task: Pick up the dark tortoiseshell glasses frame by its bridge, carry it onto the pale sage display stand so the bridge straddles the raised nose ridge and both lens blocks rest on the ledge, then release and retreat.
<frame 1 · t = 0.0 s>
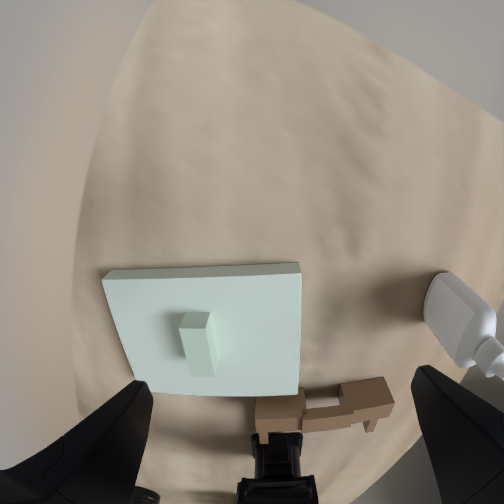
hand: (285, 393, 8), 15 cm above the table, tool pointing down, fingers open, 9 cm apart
supplement bottle: (146, 491, 44), on the table
eye dropper bottle: (436, 296, 23), on the table
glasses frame: (321, 393, 28), on the table
display stand: (206, 324, 25), on the table
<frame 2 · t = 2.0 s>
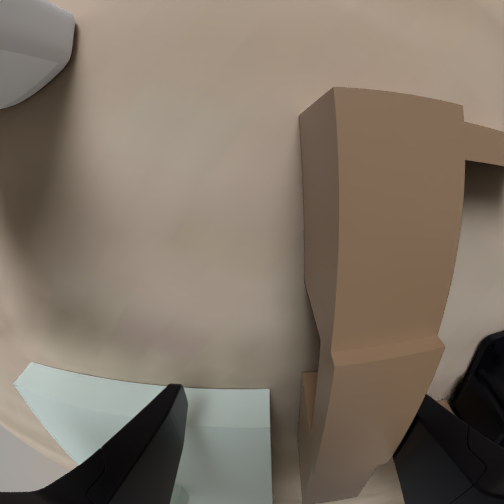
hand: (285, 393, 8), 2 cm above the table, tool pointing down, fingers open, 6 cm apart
eye dropper bottle: (29, 64, 6), on the table
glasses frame: (336, 330, 10), on the table, touching gripper
display stand: (153, 460, 14), on the table
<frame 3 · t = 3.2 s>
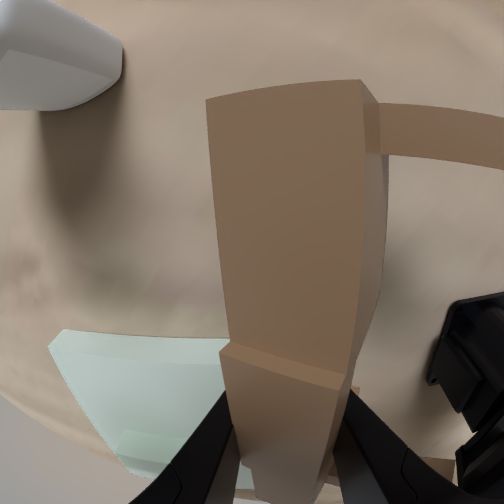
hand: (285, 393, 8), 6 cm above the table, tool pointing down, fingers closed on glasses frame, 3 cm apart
eye dropper bottle: (79, 76, 10), on the table
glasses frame: (335, 340, 9), point 4 cm above the table, tilted 29°, touching gripper
display stand: (168, 421, 17), on the table
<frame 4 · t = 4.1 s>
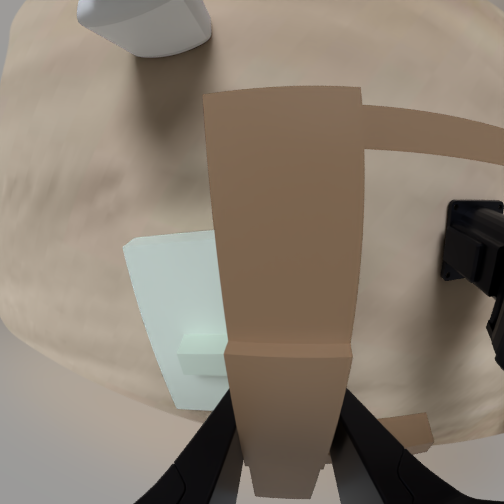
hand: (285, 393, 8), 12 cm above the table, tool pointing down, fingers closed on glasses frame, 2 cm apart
eye dropper bottle: (172, 36, 15), on the table
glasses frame: (294, 326, 10), point 10 cm above the table, tilted 7°, touching gripper
display stand: (223, 329, 22), on the table
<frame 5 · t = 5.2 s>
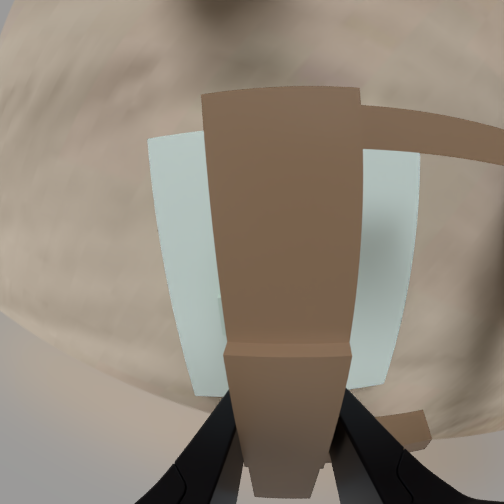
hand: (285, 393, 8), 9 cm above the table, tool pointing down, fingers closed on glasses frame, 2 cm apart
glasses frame: (291, 326, 10), point 6 cm above the table, tilted 6°, touching gripper
display stand: (273, 275, 16), on the table
when the fingers open (6 cm above the table, at t = 5.9 s): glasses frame drops 1 cm, resting on display stand.
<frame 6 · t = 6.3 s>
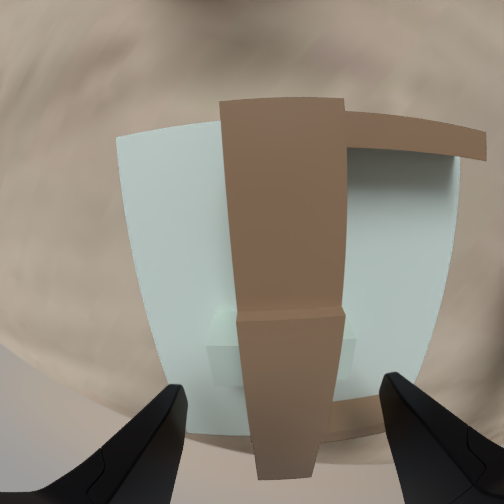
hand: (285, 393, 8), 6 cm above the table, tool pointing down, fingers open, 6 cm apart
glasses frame: (281, 309, 11), point 2 cm above the table, touching display stand
display stand: (277, 304, 13), on the table
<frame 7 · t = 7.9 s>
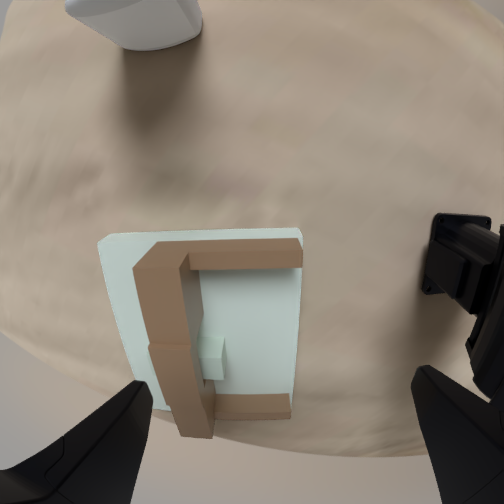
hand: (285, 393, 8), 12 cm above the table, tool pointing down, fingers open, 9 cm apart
eye dropper bottle: (162, 30, 14), on the table
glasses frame: (190, 336, 19), point 2 cm above the table, touching display stand
display stand: (195, 331, 21), on the table
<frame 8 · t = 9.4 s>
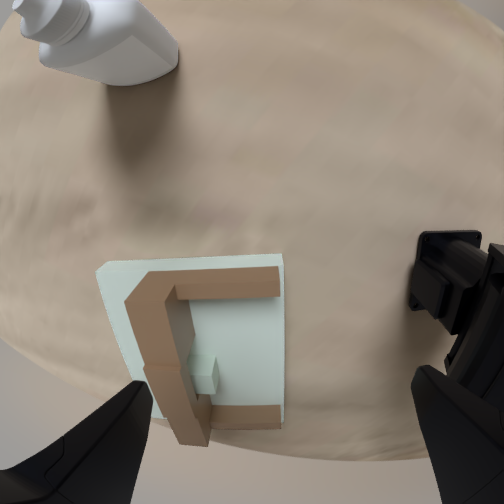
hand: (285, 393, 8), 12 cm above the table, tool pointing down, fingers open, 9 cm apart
eye dropper bottle: (141, 63, 15), on the table
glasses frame: (184, 355, 20), point 2 cm above the table, touching display stand
display stand: (191, 348, 22), on the table
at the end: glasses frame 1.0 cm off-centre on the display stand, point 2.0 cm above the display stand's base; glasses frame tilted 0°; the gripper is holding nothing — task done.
